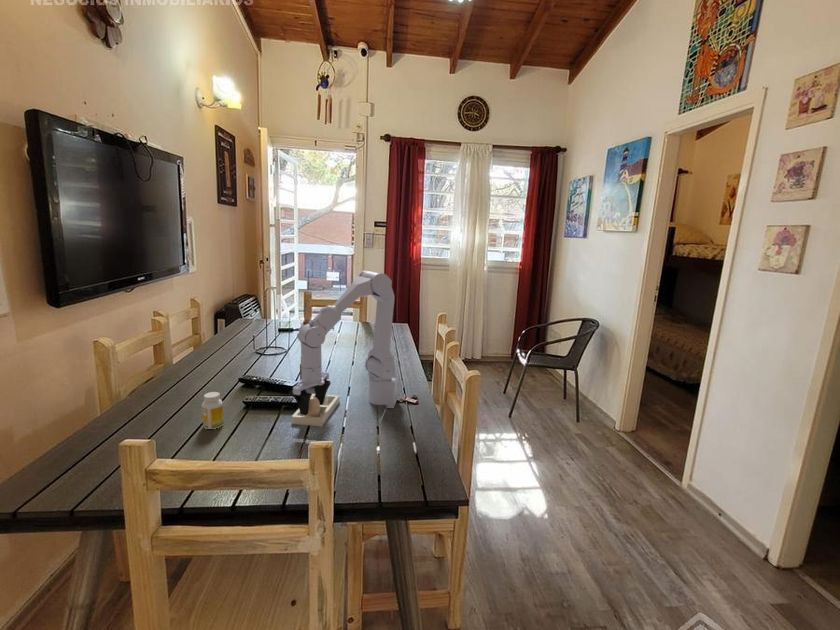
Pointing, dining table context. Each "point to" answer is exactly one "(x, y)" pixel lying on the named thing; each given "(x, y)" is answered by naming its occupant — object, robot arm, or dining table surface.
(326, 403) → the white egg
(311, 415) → the brown egg
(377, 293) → the robot arm
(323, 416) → the holder
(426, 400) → the dining table surface
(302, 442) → the dining table surface
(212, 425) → the supplement bottle
